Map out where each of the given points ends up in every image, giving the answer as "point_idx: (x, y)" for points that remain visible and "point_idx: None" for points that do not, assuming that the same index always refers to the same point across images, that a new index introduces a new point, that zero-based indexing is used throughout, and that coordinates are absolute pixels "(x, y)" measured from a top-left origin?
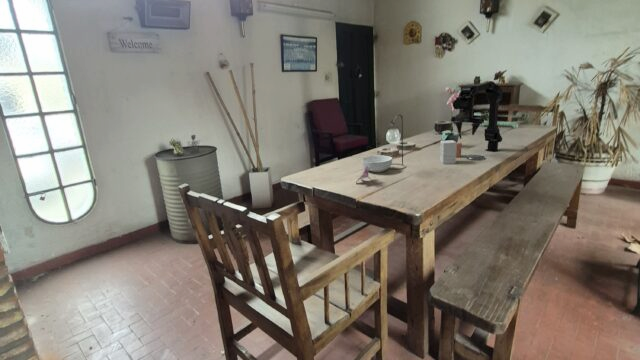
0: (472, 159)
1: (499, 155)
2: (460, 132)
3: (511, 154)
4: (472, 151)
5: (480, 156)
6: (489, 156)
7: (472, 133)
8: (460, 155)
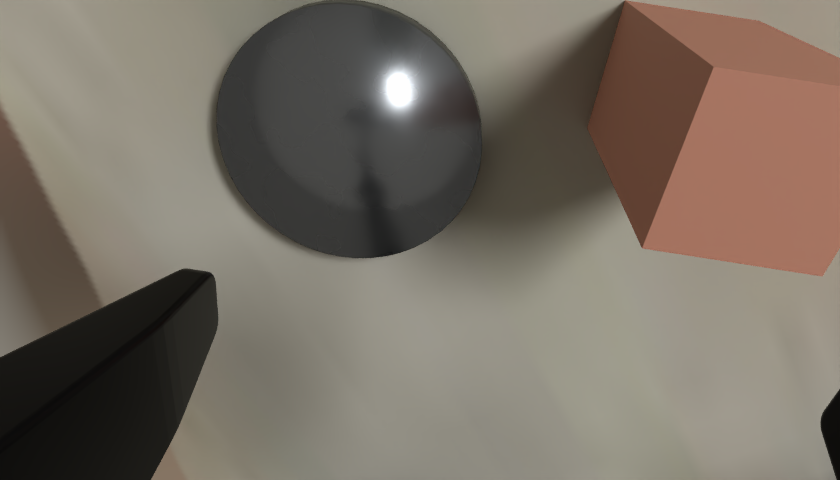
0: (316, 2)
1: (233, 399)
2: (827, 449)
3: (183, 471)
4: (565, 432)
5: (302, 198)
6: (281, 317)
7: (152, 295)
8: (593, 122)
